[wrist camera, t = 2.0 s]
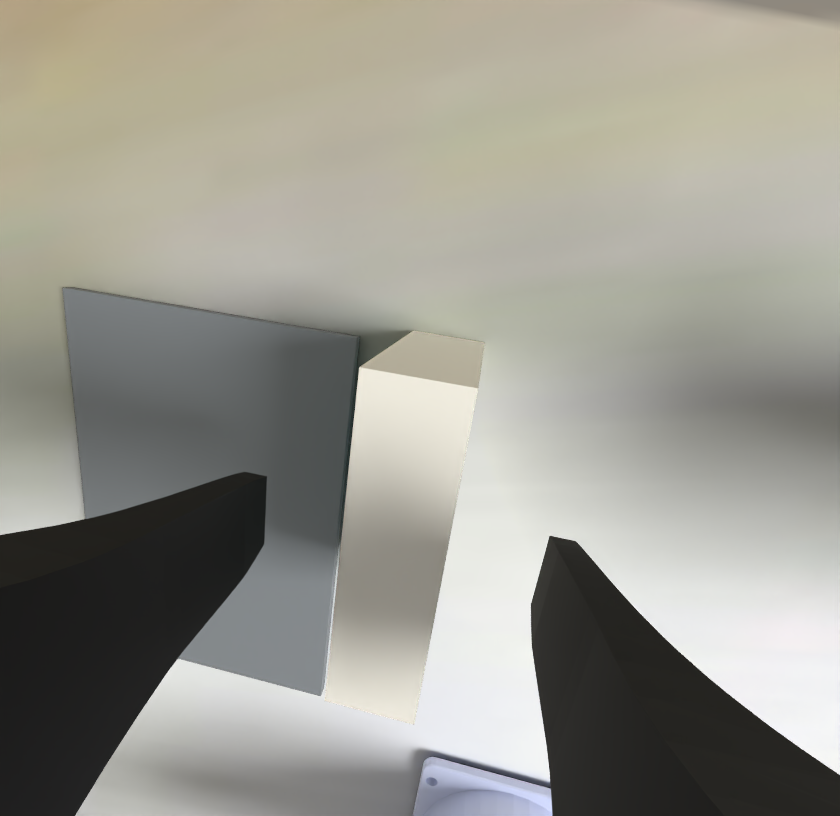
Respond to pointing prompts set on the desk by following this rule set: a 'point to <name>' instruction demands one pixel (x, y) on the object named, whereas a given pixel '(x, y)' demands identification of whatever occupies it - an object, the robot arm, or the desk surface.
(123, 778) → the desk surface
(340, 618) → the block
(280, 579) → the mat
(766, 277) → the desk surface
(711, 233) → the desk surface
